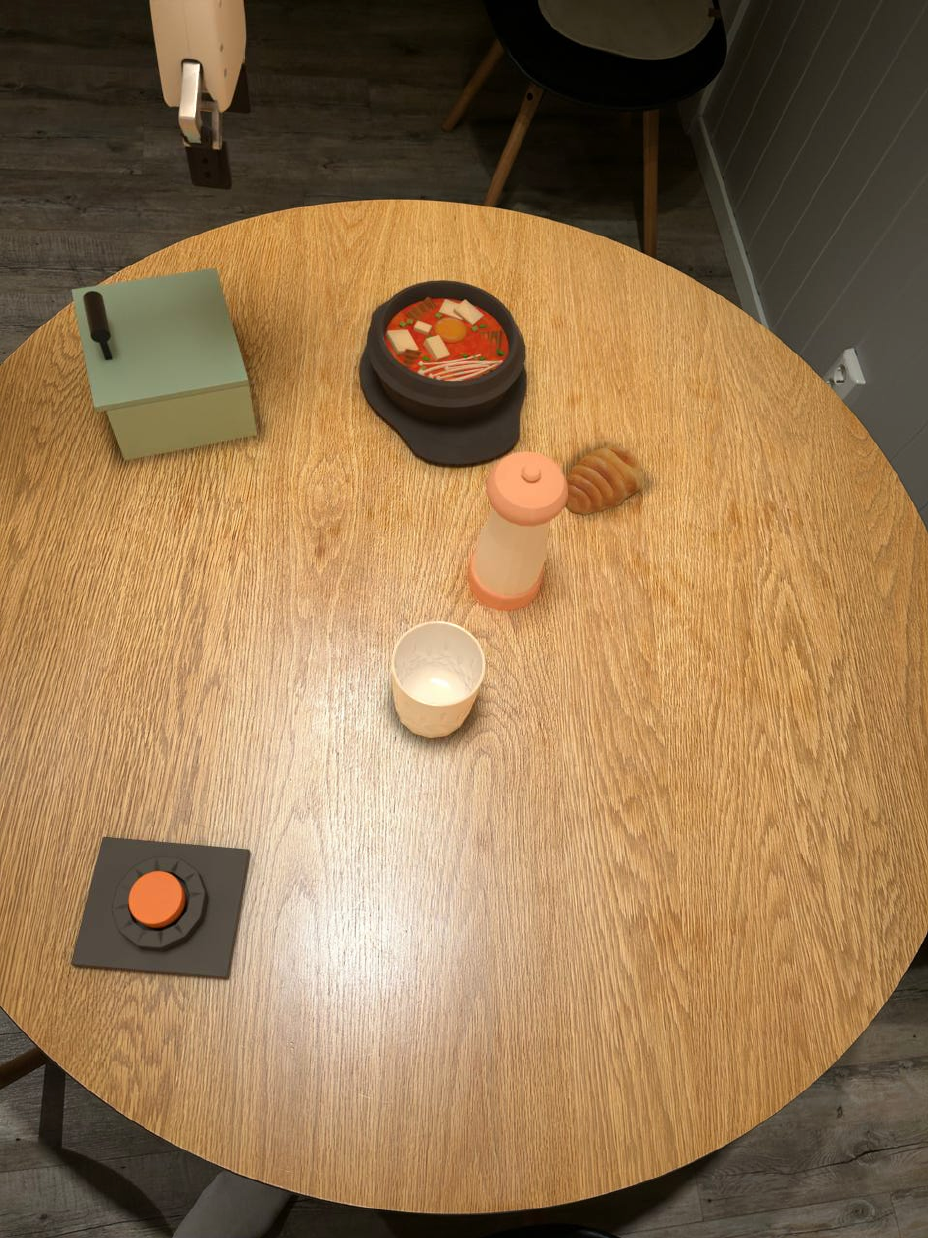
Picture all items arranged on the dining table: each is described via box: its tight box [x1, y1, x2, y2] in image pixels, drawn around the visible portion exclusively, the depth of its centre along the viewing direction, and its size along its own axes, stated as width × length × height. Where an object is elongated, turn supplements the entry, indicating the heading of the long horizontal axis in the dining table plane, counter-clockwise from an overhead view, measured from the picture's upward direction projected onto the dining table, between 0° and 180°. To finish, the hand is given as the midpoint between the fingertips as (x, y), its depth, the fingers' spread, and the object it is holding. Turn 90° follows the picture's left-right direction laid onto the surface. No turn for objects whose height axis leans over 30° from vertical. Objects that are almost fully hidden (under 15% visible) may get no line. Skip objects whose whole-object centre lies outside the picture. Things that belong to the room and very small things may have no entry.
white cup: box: [390, 620, 487, 739], centre depth 83 cm, size 8×8×10 cm
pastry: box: [564, 443, 646, 516], centre depth 99 cm, size 9×7×4 cm
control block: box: [70, 836, 252, 980], centre depth 75 cm, size 12×10×4 cm
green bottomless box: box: [105, 384, 258, 461], centre depth 97 cm, size 14×16×9 cm
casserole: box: [358, 279, 528, 465], centre depth 102 cm, size 25×19×8 cm
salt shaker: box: [467, 451, 568, 612], centre depth 86 cm, size 7×7×19 cm
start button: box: [128, 871, 186, 928], centre depth 73 cm, size 4×4×2 cm
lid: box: [71, 267, 250, 413], centre depth 91 cm, size 14×16×5 cm
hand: (223, 146), depth 79 cm, fingers open, 9 cm apart
